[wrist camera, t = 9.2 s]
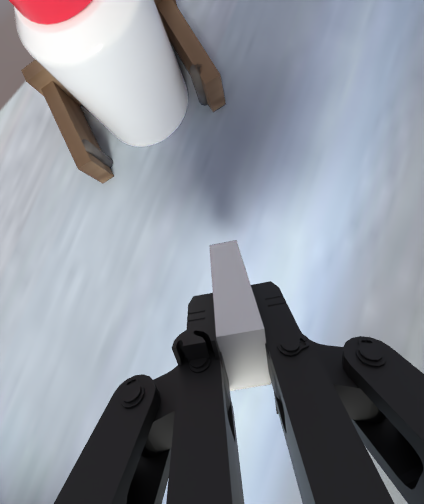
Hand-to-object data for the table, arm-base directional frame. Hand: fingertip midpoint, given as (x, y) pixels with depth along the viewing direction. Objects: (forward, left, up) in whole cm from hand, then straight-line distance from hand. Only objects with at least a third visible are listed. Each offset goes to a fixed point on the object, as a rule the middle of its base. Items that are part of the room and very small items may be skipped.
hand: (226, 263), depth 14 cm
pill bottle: (-3, -16, -5) cm, 17 cm away
